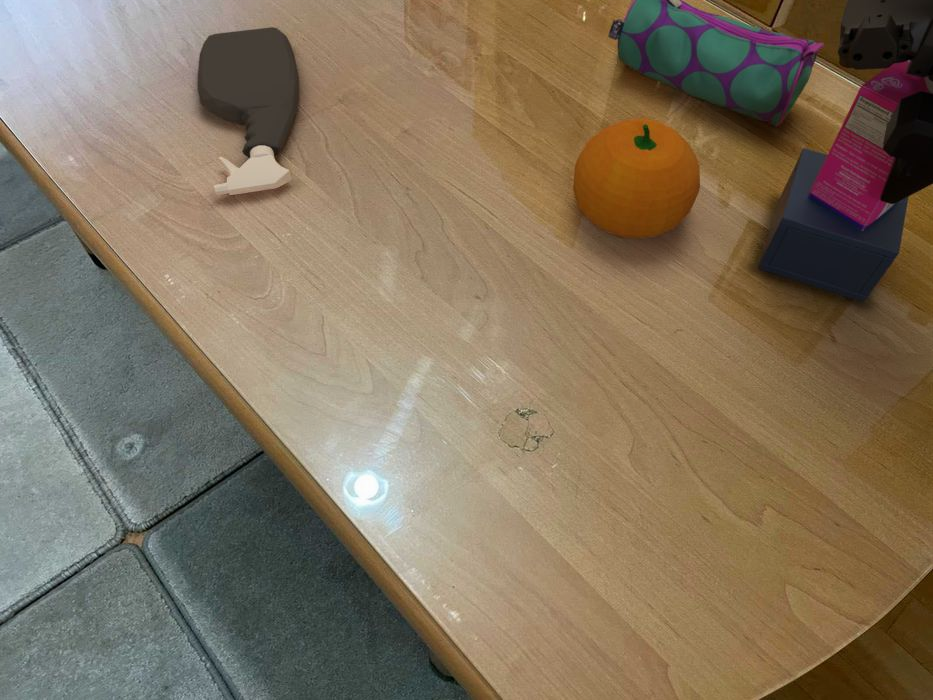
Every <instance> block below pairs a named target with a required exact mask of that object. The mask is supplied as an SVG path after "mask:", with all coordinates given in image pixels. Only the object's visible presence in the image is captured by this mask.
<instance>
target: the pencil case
mask: <svg viewBox="0 0 933 700" xmlns="http://www.w3.org/2000/svg"><path fill="white" fill-rule="evenodd" d="M624 16H625V17H624V19H621V18H618V19H613V20H612V22H611V25H610V29H609V32H608V35H607V37H608V39H612V40H614V41H617V57H618V60H619V61H620V62H621V63H623V64H625V65H627V66H629V67H630V68H631V69H632V70H634V71H636V72H638V73H640V74H642V75H644V76H645V77H647V78H650V79H651V80H654V81H656V82H660V83H663V84H665V85H667V86H668V87H671V88H673V89H675V90H677V91H680V92H682V93H684V94H686V95H688V96H691V97H694V98H696V99H699V100H702V101H705V102H707V103H710V104H713V105H715V106H718V107H721V108H724V109H727V110H730V111H732V112H735V113H737V114H740V115H744V116H748V117H750V118H752V119H754V120H757V121H762V122H768V123H769V124H770V125H772V126H774V127H779V126H780V125H782V123H783V121H784V120H785V118H786V116H787V115H788V114H789V113H790V112H791V110H792V109H793V107H794V106H795V104H796V102H797V100H798V98H799V97H800V95H801V94H802V92H803V90H804V89H805V87H806V86H807V83H808V82H809V80H810V77H811V74H812V71H813V67H814V65H815V62H816V60H817V56H818V54H819V50H820V49H822V48H823V47H824V45H825V43H824V42H816V41H815V40H813V39H807V38H795V37H793V36H790V35H787V34H785V33H782V32H775V31H768V30H766V29H762V28H760V27H756V26H753V25H751V24H747V23H745V22H742V21H739V20H736V19H733V18H730V17H727V16H724V15H720V14H715V13H712V12H708V11H705V10H702V9H699V8H697V7H695V6H692V4H690V3H688V2H686V1H684V0H633V1H632V2H631V4H630V5H629V8H628V10H627V12H626V14H625V15H624Z"/></svg>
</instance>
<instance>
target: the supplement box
mask: <svg viewBox="0 0 933 700" xmlns="http://www.w3.org/2000/svg"><path fill="white" fill-rule="evenodd" d="M909 63H910V60H908V61H905V62H902V63H894V64H893V65H892V66H890V67H889V68H884V69H882V70H881V71H879V72H878V73H877V74H875V75H874V76H872V78H870V79H868V80H867V81H866V82H864V83H863V84H861V86H859V89H858V91H857V94H856V96H855V98H854V100H853V102H852V104H851V106H850V108H849V110H848V112H847V114H846V116H845V119H844V121H843V123H842V124H841V127H840V129H839V131H838V133H837V134H836V137H835V139H834V141H833V143H832V145H831V147H830V149H829V151H828V153H827V157H826V159H825V161H824V163H823V166H822V168H821V170H820V172H819V174H818V176H817V178H816V180H815V182H814V184H813V186H812V188H811V190H810V192H809V194H808V196H809V197H810V198H812V199H813V200H815V201H817V202H818V203H820V204H821V205H823V206H824V207H826V208H828V209H829V210H831V211H832V212H834V213H835V214H837V215H839V216H840V217H842V218H843V219H845V220H846V221H848V222H849V223H851V224H852V225H854V226H855V227H857V228H858V229H860V230H861V231H864V230H866V229H867V228H868V227H869V226H871V225H872V224H873V223H874V222H876V221H877V220H878V219H879V218H880V217H882V216H883V215H884V214H885V213H886V212H888V211H889V210H890V209H891V208H892V207H893V206H894V205H896V204H897V203H898V202H897V203H895V204H889V203H886V202H883V201H881V200H880V197H881V193H882V191H883V188H884V185H885V182H886V179H887V176H888V173H889V170H890V168H891V165H892V162H893V159H894V157H891V156H889V155H888V154H887V153H886V152H885V151H884V150H883V142H884V137H885V132H886V127H887V123H889V121H890V119H891V116H892V114H893V112H894V110H895V108H896V106H897V105H898V103H899V101H900V99H901V98H904V97H907V96H909V95H912V94H915V93H917V92H920V91H924V92H928V93H932V94H933V82H932V81H931V80H929V79H928V78H927V77H919V76H915V75H911V74H907V73H906V72H907V67H908V65H909Z"/></svg>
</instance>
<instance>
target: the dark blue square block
mask: <svg viewBox="0 0 933 700" xmlns="http://www.w3.org/2000/svg"><path fill="white" fill-rule="evenodd" d="M798 160H799V158H797V161H796V164H795V165H794V167H793V169H792V172H790V175H789V177H788V179H787V181H786V184H785V186H784V187H783V190H782V192H781V194H780V196H779V198H778V200H777V203H776V206H775V209H774V212H773V216H772V220H771V222H770V224H769V225H770V226H769V228H768V232H767V235H766V239H765V241H764V245H763V249H762V251H761V255H760V257H759V258H760V259H759V262H758V264H757V269H759V270H761V271H763V272H764V271H765V272H768V273H771V274H774V275H777V276H780V277H782V278H787V279H789V280H792V281H796V282H798V283H803V284H806V285H808V286H811V287H814V288H817V289H821V290H824V291H827V292H830V293H833V294H836V295H839V296H842V297H845V298H849V299H852V300H855V301H857V302H861V303H865V302H866V300H867V298H868V297H869V296H870V295H871V293H872V292H873V291H874V289H875V288H876V286H877V285H878V283H879V282H880V281H881V280H882V278H883V276H884V275H885V274H886V273H887V271H888V270H889V268H890V267H891V265H892V264H893V263H894V261H895V260H896V258H895V259H893V258H890V257H887V256H884V255H880V254H877V253H874V252H871V251H867V250H864V249H861V248H857V247H854V246H851V245H848V244H844V243H841V242H838V241H835V240H831V239H828V238H825V237H821V236H818V235H815V234H812V233H808V232H805V231H802V230H799V229H795V228H792V227H789V226H785V225H782V224H780V221H781V217H782V214H783V211H784V207H785V204H786V201H787V197H788V194H789V190H790V187H791V184H792V180H793V177H794V174H795V170H796V167H797V164H798Z"/></svg>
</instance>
